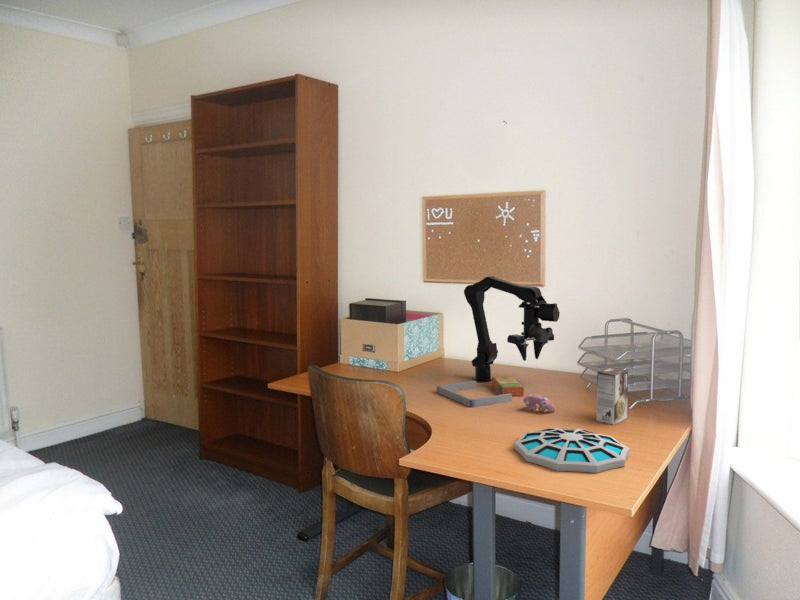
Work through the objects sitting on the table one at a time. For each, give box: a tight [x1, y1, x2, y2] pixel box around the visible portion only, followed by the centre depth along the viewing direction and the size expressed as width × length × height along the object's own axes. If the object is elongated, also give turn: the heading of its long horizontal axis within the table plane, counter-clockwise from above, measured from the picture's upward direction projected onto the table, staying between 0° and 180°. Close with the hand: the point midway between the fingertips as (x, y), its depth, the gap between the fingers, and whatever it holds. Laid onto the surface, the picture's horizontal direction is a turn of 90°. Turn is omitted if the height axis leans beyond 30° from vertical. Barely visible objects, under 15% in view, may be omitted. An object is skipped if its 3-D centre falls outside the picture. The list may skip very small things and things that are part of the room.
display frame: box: [436, 380, 513, 408], centre depth 226 cm, size 23×17×2 cm
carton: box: [491, 376, 525, 398], centre depth 233 cm, size 8×16×4 cm, turn 6°
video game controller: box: [523, 394, 556, 413], centre depth 207 cm, size 10×5×7 cm, turn 47°
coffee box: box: [596, 366, 629, 426], centre depth 196 cm, size 9×6×16 cm
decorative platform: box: [513, 427, 631, 474], centre depth 168 cm, size 31×29×5 cm
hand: (530, 359), depth 237 cm, fingers open, 6 cm apart
